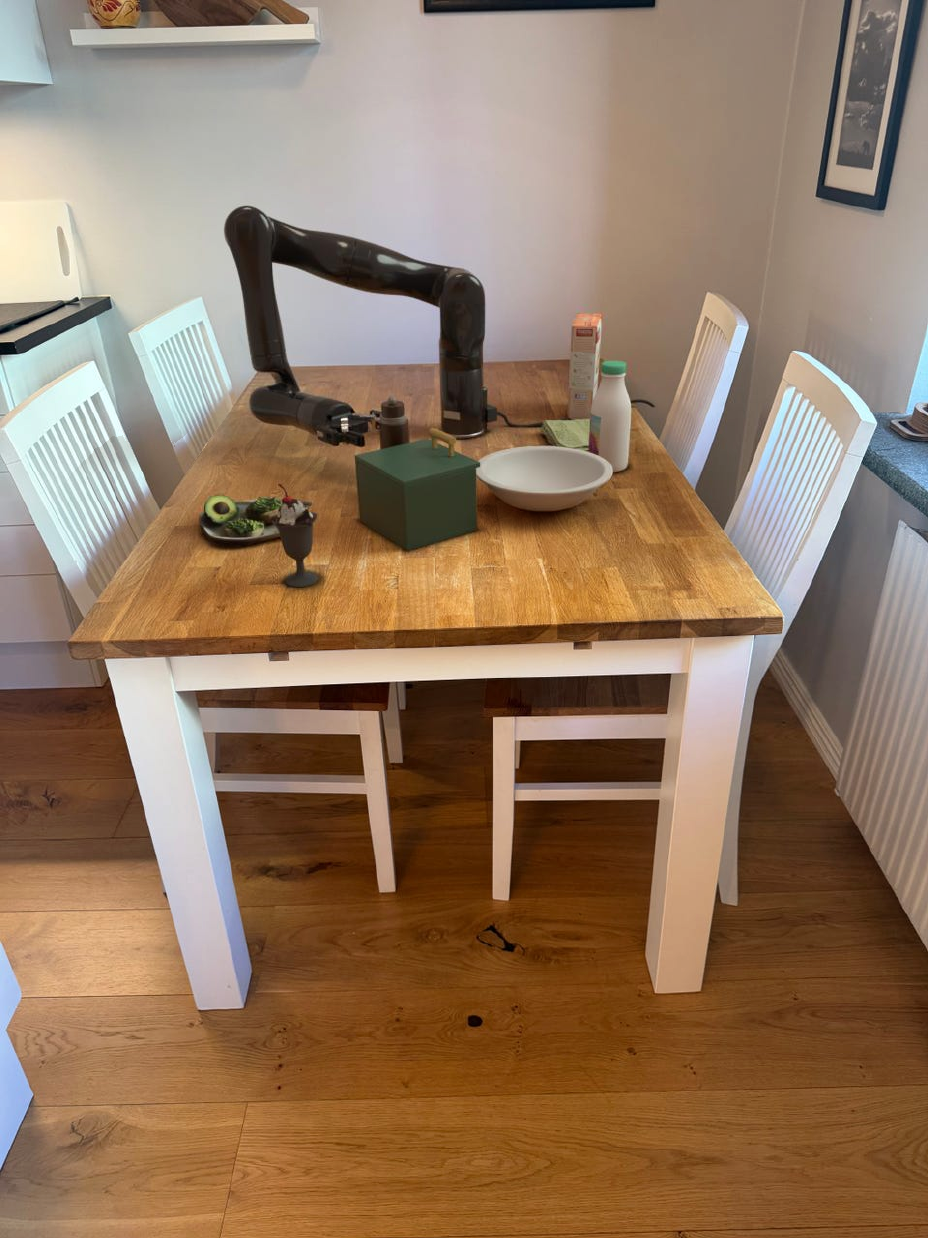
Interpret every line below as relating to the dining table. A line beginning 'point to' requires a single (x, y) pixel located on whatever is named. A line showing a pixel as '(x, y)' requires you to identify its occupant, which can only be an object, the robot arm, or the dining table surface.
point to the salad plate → (240, 520)
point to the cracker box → (584, 364)
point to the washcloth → (567, 433)
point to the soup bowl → (543, 476)
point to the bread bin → (417, 507)
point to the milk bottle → (611, 417)
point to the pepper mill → (393, 424)
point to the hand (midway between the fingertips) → (381, 435)
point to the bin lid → (418, 460)
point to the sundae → (296, 537)
